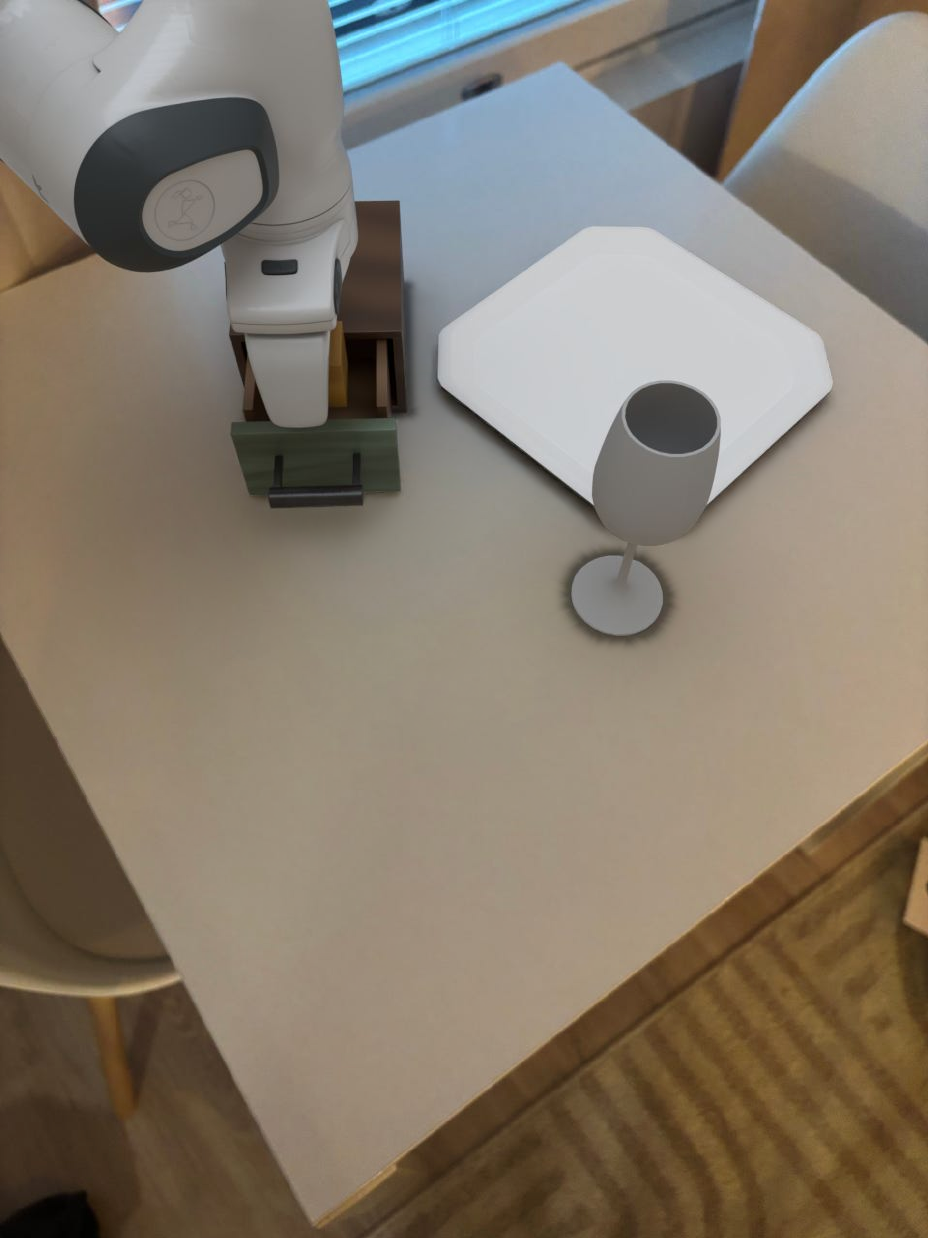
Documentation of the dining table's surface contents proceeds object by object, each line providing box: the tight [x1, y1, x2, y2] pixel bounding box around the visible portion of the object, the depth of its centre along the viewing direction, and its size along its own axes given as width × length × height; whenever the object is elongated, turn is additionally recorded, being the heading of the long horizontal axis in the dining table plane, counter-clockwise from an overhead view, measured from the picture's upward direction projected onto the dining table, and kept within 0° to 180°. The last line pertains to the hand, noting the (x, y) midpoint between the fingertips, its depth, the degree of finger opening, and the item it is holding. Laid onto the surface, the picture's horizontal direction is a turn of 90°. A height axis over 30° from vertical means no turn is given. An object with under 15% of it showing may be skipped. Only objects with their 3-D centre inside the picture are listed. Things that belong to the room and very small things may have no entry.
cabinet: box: [228, 199, 408, 414], centre depth 82 cm, size 16×14×10 cm
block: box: [328, 321, 348, 407], centre depth 72 cm, size 4×4×4 cm
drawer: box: [230, 338, 402, 509], centre depth 76 cm, size 19×12×8 cm, turn 3°
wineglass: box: [570, 380, 721, 637], centre depth 65 cm, size 8×8×21 cm
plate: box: [436, 225, 834, 509], centre depth 84 cm, size 29×29×2 cm
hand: (314, 371), depth 72 cm, fingers closed on block, 4 cm apart
